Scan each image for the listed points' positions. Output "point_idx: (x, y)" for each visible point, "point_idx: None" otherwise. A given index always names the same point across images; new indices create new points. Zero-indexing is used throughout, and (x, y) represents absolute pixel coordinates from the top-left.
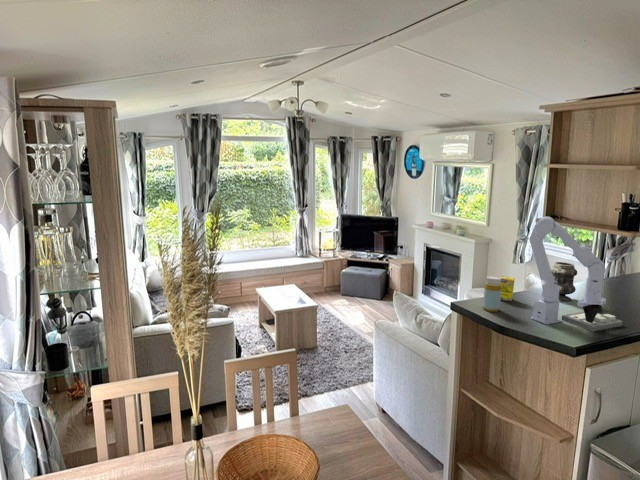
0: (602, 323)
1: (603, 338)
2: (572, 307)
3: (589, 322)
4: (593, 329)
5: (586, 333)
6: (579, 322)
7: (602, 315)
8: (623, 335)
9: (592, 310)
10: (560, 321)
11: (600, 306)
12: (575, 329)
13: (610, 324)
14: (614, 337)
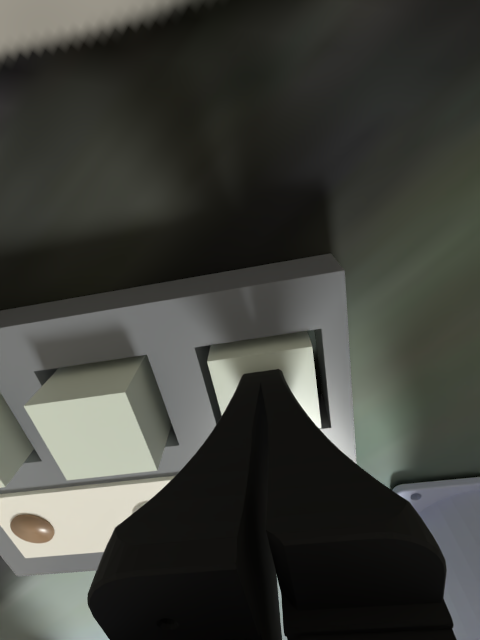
0: (130, 342)
1: (418, 8)
2: (71, 627)
3: (288, 376)
4: (328, 261)
5: (458, 219)
6: (351, 415)
7: (6, 477)
8: (42, 67)
9: (394, 495)
10: (419, 485)
11: (117, 593)
12: (454, 335)
13: (37, 317)
14: (225, 16)
